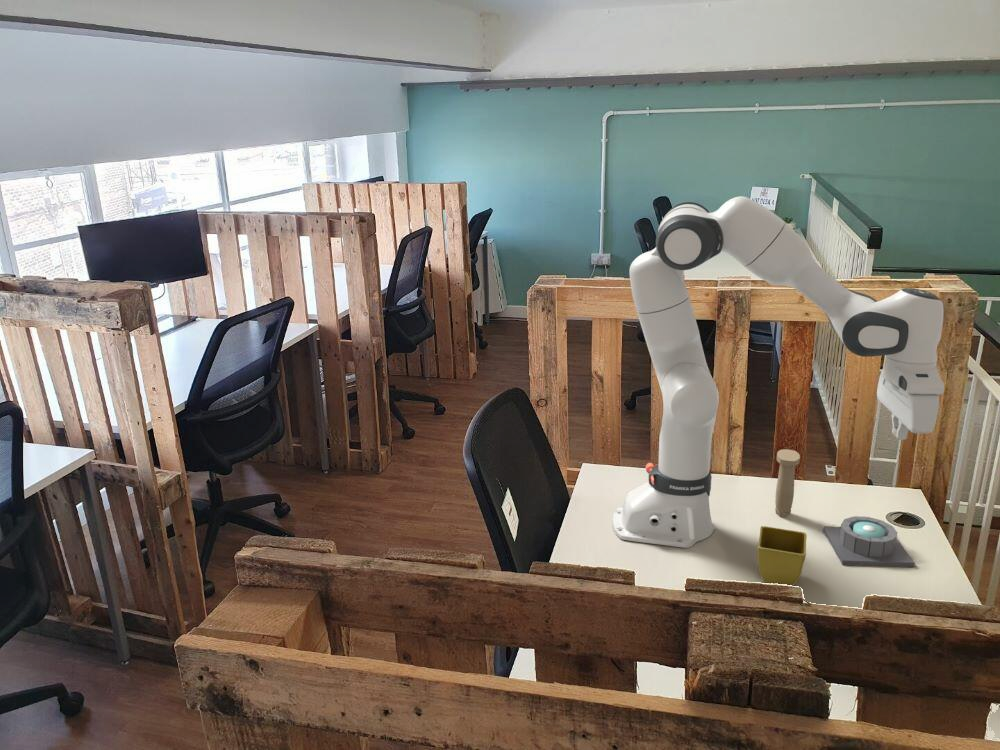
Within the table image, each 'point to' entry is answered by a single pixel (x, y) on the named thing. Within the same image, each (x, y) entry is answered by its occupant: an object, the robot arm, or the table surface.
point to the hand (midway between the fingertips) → (899, 436)
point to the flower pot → (781, 555)
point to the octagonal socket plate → (867, 545)
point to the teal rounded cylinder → (869, 530)
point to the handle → (785, 481)
